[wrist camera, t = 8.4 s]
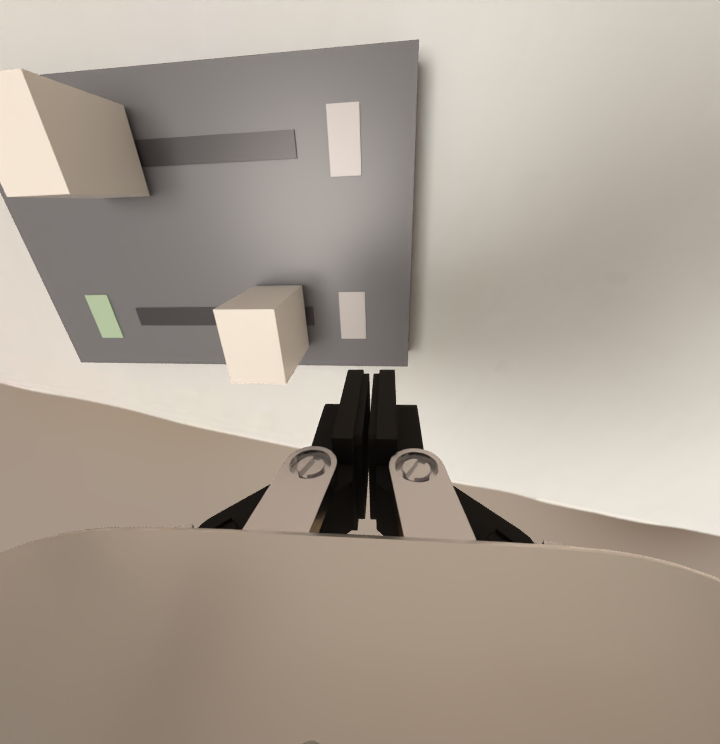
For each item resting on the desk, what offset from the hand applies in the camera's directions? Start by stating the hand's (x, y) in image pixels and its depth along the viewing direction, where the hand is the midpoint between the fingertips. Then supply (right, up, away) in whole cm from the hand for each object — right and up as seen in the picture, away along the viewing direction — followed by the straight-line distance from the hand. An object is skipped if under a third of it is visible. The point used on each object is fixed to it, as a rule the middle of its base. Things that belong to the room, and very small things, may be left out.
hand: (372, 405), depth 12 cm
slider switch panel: (-9, +10, +10) cm, 17 cm away
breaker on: (-14, +13, +5) cm, 20 cm away
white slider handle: (-5, +5, +9) cm, 11 cm away
